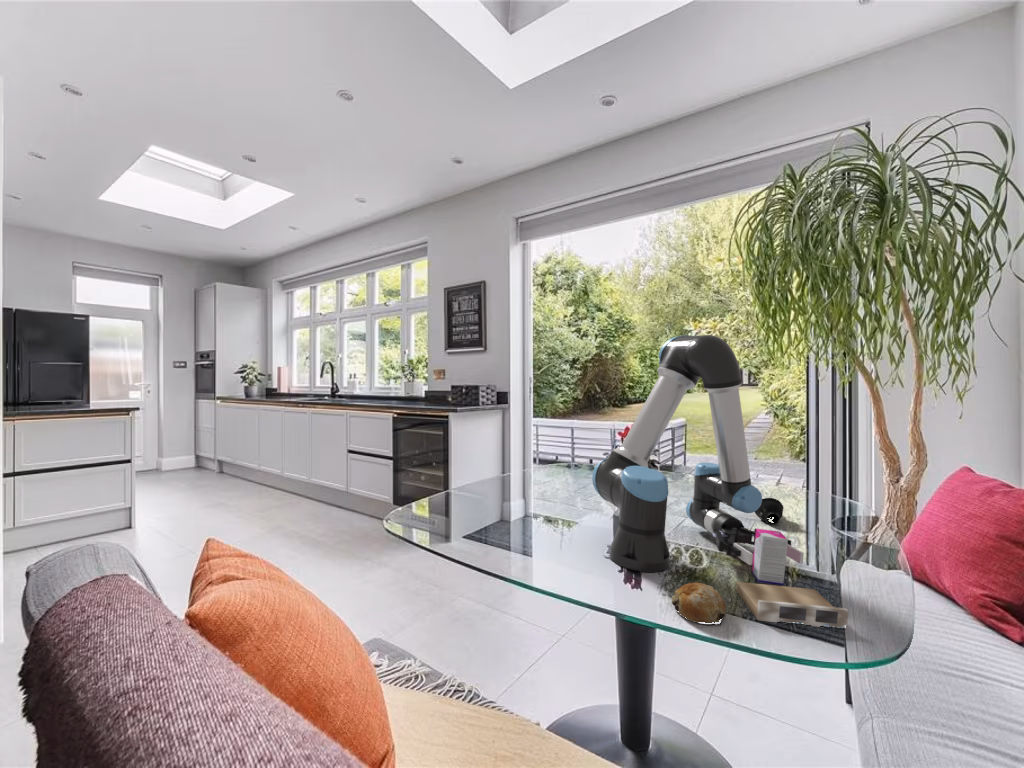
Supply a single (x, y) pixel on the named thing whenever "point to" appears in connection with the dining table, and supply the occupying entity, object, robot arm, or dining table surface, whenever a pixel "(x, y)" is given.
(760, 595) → the tan slab
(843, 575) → the dining table surface
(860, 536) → the dining table surface
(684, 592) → the bread roll
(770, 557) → the supplement box
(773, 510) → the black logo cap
